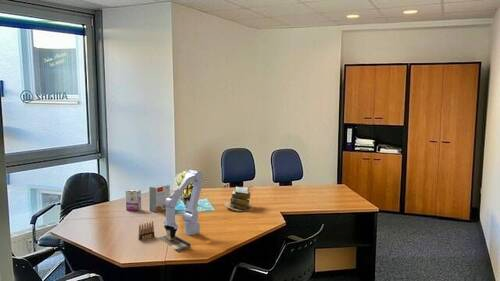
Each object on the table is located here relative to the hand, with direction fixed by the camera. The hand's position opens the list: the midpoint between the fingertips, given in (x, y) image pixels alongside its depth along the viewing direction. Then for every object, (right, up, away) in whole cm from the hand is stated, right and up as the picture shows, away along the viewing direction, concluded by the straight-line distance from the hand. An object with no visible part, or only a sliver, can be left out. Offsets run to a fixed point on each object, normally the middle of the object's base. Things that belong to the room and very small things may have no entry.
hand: (171, 236), depth 266 cm
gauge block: (0, -1, 0) cm, 1 cm away
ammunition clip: (-16, -3, +3) cm, 17 cm away
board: (+2, -4, -4) cm, 6 cm away
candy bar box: (-43, +5, +70) cm, 82 cm away
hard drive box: (-23, +5, +71) cm, 75 cm away
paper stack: (+42, +6, +77) cm, 88 cm away
